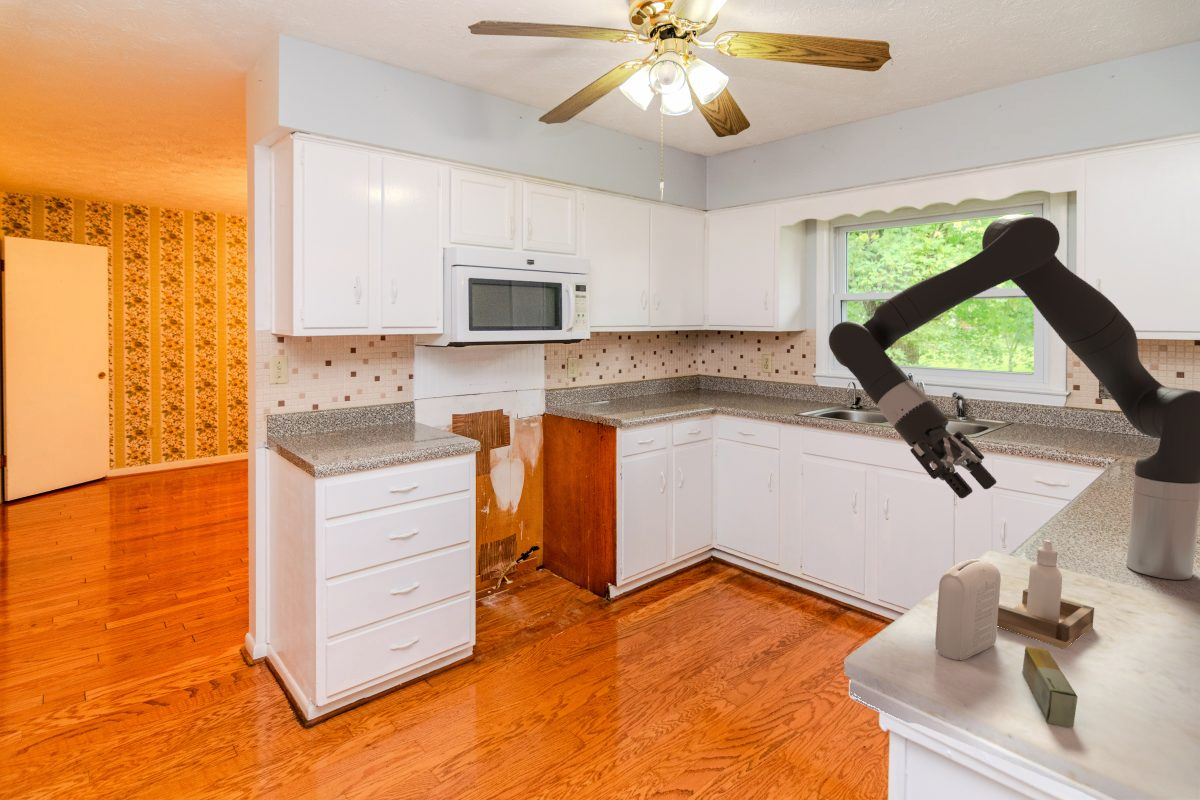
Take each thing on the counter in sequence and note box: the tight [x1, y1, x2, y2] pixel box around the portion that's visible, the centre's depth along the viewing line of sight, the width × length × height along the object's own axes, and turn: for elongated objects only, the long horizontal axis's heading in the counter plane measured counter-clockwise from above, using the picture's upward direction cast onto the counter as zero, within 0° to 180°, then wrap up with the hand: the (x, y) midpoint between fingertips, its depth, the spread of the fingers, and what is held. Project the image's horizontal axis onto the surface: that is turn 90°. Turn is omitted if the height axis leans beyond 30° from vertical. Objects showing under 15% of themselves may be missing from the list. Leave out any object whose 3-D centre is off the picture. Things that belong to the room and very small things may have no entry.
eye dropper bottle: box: [1027, 539, 1063, 622], centre depth 98 cm, size 4×6×12 cm
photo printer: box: [934, 558, 1002, 661], centre depth 91 cm, size 10×4×12 cm, turn 123°
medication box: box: [1021, 645, 1078, 729], centre depth 80 cm, size 12×3×4 cm, turn 160°
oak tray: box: [997, 588, 1095, 650], centre depth 99 cm, size 11×9×3 cm
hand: (979, 490), depth 107 cm, fingers open, 8 cm apart
